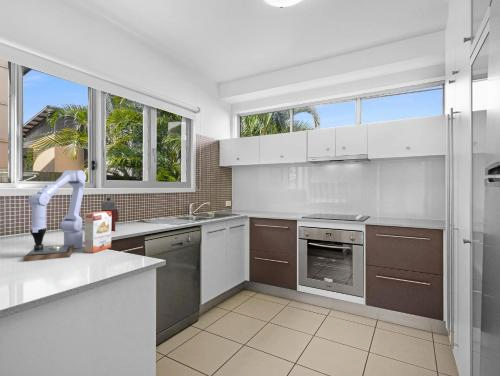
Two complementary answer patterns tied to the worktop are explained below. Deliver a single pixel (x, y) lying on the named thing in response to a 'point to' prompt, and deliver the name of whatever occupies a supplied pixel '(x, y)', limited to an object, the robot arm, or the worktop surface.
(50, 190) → the robot arm
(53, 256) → the base
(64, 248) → the plate
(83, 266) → the worktop surface
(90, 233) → the cracker box
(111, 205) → the toy vending machine
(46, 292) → the worktop surface
